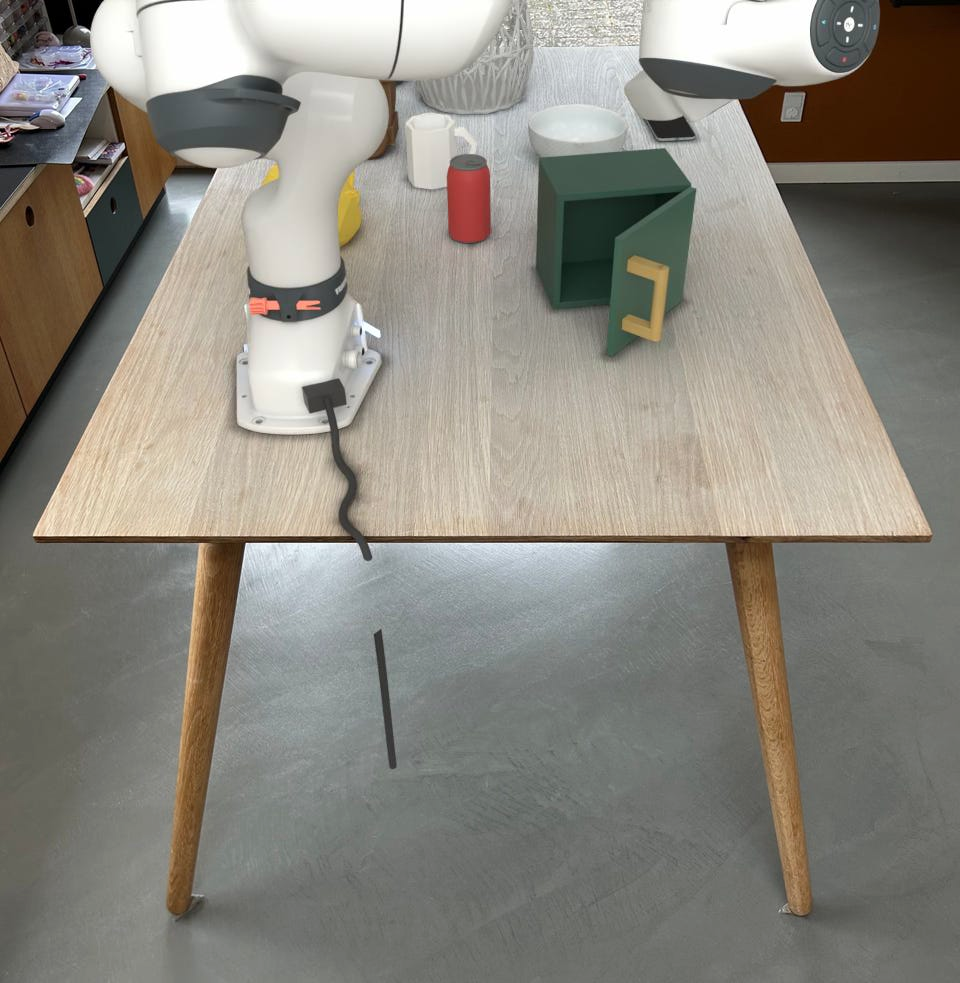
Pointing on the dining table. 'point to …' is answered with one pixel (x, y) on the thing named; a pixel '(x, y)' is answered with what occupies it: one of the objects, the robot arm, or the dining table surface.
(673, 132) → the smartphone
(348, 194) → the teapot
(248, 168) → the dining table surface
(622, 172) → the cupboard
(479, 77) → the vase
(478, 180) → the beer can
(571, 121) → the cereal bowl
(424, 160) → the mug
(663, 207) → the door
